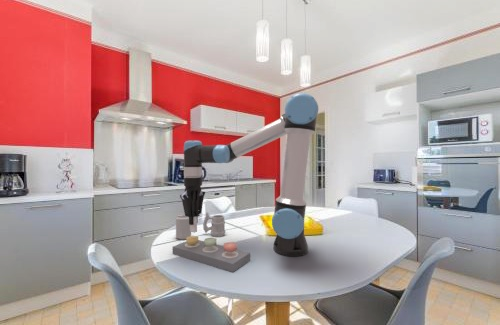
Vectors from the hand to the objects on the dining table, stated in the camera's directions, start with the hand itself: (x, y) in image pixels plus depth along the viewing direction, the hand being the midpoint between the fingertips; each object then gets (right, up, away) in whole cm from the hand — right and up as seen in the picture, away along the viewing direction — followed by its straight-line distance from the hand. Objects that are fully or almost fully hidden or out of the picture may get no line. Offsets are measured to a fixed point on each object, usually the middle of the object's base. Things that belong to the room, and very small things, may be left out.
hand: (193, 231), depth 102 cm
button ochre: (-1, -5, 0) cm, 5 cm away
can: (-9, -9, +18) cm, 22 cm away
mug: (+5, -9, +23) cm, 26 cm away
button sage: (+8, -4, -5) cm, 10 cm away
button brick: (+17, -4, -10) cm, 20 cm away
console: (+8, -9, -5) cm, 13 cm away
